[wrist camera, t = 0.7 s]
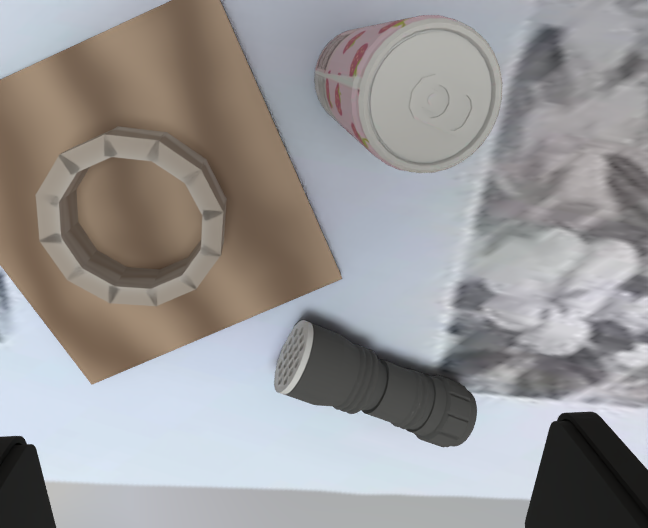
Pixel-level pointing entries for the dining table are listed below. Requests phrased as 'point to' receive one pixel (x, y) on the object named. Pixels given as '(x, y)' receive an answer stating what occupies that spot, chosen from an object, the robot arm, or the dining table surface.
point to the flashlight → (372, 386)
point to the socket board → (150, 191)
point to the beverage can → (412, 90)
